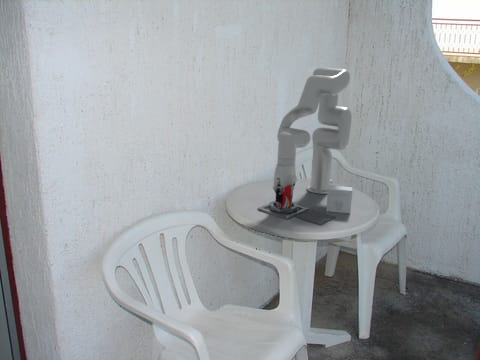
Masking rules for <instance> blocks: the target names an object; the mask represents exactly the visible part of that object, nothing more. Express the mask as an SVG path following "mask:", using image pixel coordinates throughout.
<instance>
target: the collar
mask: <svg viewBox="0 0 480 360" xmlns="http://www.w3.org/2000/svg"><path fill="white" fill-rule="evenodd" d="M257 210H258V211H260V212H263V213H266V214H270V215H272V216H275V217H277V218H282V219H284V220H290V219H292V218H294V217H296V216H297V215H300V214H302V213H304V212H306V211H309V210H310V208H308V207H304V206H302V205H298V204H297V202H294V201H292V206H291V208H279V207H276V199H275V200H272V201H270V202H269V203H266V204H265V205H262V206H259V207H257Z"/></svg>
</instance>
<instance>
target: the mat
mask: <svg viewBox="0 0 480 360" xmlns="http://www.w3.org/2000/svg"><path fill="white" fill-rule="evenodd" d="M295 217H296V218H297V219H301V220H303V221H306V222H309V223H313V224H315V225H319V226H322V225H324V224H326V223H328V222H330V221H333V220H335V219H336V217H337V216H336V215H334V214H330V213H326V212H323V211H320V210H316V209H313V208H311V209H309V210H308V211H306V212H304V213H301V214H299V215H297V216H295Z"/></svg>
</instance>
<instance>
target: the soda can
mask: <svg viewBox="0 0 480 360" xmlns="http://www.w3.org/2000/svg"><path fill="white" fill-rule="evenodd" d="M291 184H292V183H291ZM291 184H290V185H286V187H285V188H283V191H282V194H283V197H282V203H279V202H276V207H279V208H291V206H292V202H293V198H292V195H294V190H293V187H292V185H291ZM279 187H281V186H280V185H279ZM280 189H281V188H279V191H280Z"/></svg>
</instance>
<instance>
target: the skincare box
mask: <svg viewBox="0 0 480 360" xmlns="http://www.w3.org/2000/svg"><path fill="white" fill-rule="evenodd" d="M326 196H327V197H326V210H325V211H326V212H328V211H329V212H330V213H340V214H341V213H342V214H351V211H352V210H351V209H352V202H353V201H352V199H353V187H351V186H339V185H332V184H330V185H329V186H328V194H326ZM329 212H328V213H329Z"/></svg>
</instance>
